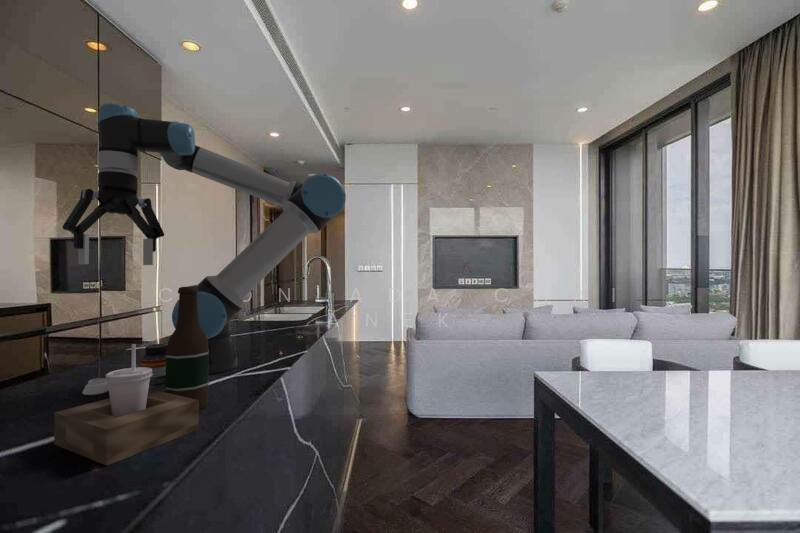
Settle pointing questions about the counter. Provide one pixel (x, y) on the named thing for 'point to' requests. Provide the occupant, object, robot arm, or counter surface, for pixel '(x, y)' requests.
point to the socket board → (124, 427)
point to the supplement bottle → (156, 365)
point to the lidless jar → (96, 387)
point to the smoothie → (128, 388)
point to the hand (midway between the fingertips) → (117, 264)
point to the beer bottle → (188, 352)
